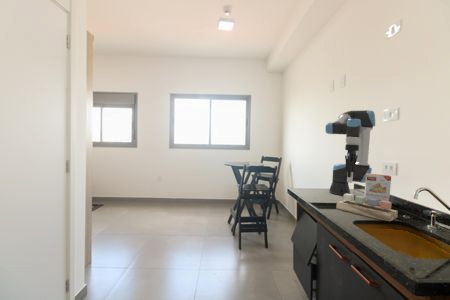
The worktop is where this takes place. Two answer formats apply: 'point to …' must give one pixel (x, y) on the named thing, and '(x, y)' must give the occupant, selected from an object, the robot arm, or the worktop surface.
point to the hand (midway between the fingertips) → (349, 182)
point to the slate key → (372, 202)
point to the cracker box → (377, 187)
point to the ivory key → (348, 197)
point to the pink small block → (385, 205)
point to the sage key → (360, 200)
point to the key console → (367, 210)
